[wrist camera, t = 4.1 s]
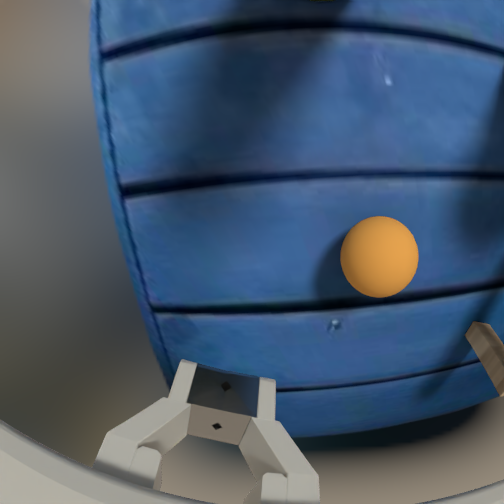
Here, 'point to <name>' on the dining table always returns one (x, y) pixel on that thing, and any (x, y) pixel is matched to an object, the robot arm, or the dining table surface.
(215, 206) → the dining table surface
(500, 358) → the bridge
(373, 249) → the ball
